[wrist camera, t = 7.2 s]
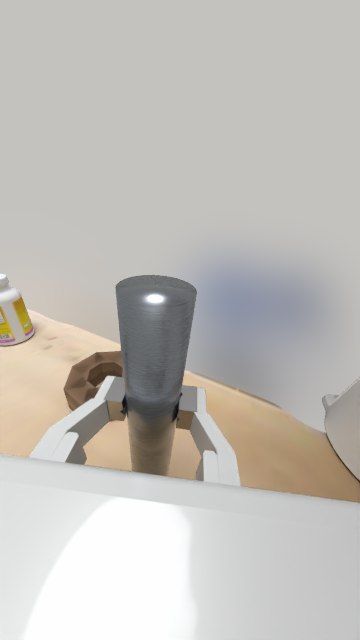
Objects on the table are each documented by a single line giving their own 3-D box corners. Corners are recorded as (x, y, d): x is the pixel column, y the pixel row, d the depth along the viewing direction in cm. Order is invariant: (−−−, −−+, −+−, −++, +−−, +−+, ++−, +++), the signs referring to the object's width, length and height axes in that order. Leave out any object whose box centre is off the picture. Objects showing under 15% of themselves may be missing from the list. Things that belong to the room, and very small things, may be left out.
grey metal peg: (165, 444, 16) (185, 276, 8) (171, 485, 14) (208, 304, 6) (132, 450, 16) (118, 274, 8) (132, 495, 13) (111, 305, 5)
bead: (138, 366, 34) (139, 350, 32) (140, 416, 26) (141, 399, 24) (81, 370, 31) (77, 353, 29) (62, 428, 23) (55, 409, 21)
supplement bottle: (26, 324, 41) (5, 269, 34) (40, 336, 38) (20, 278, 31) (-13, 337, 36) (-47, 275, 29) (-1, 352, 33) (-35, 286, 26)
